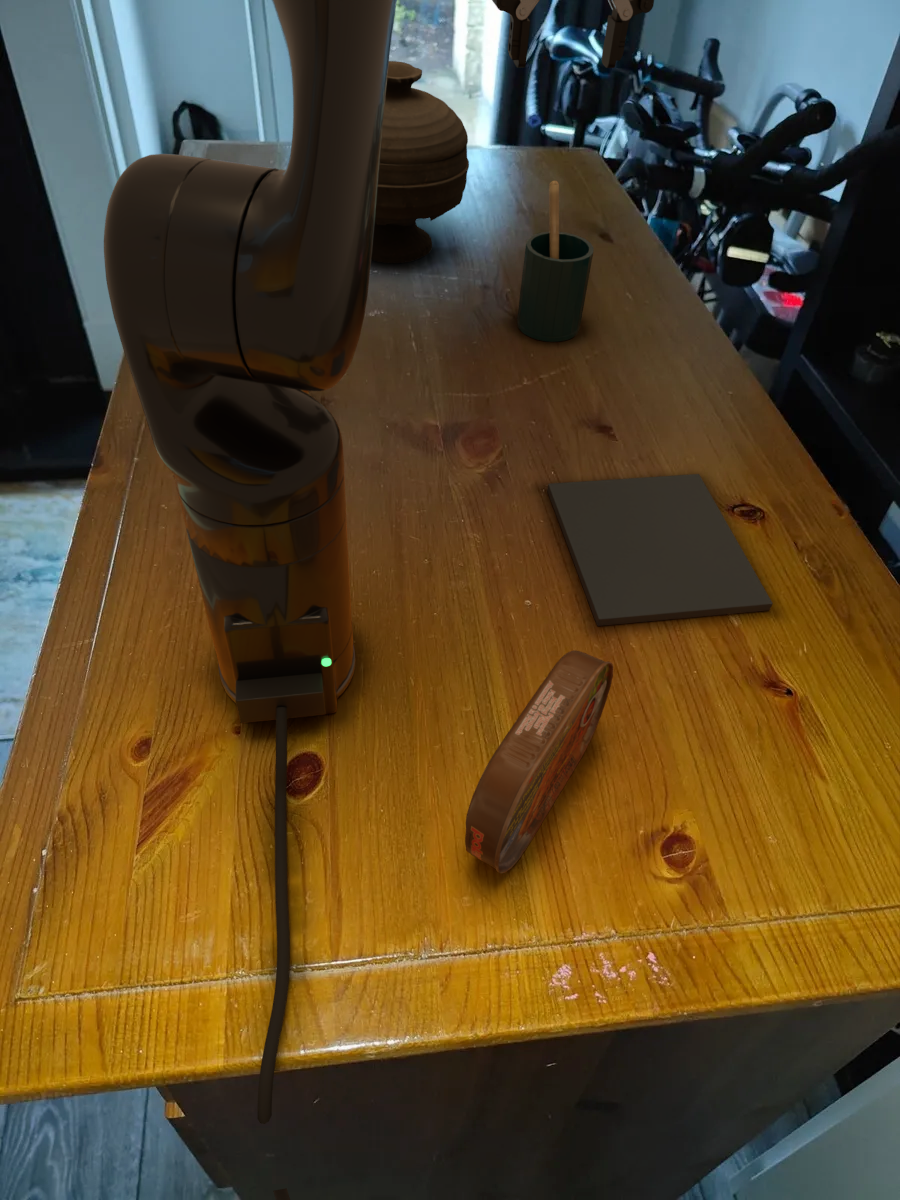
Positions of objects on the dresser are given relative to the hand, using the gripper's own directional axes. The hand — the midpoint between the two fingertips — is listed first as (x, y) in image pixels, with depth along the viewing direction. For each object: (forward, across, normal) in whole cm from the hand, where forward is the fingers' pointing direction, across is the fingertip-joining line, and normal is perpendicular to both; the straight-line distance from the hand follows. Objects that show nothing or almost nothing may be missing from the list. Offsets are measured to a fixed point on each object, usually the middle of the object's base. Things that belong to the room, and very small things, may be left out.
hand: (564, 65), depth 78 cm
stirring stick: (+17, +1, -2) cm, 17 cm away
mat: (+24, +1, -40) cm, 46 cm away
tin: (+24, -14, -61) cm, 67 cm away
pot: (+25, -14, +17) cm, 33 cm away
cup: (+24, +1, -4) cm, 25 cm away
